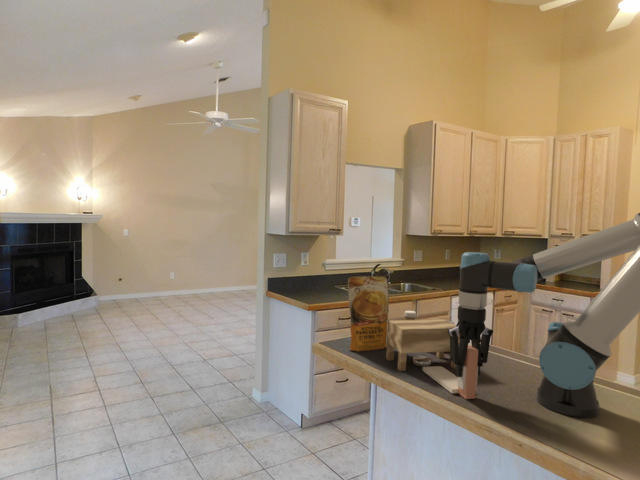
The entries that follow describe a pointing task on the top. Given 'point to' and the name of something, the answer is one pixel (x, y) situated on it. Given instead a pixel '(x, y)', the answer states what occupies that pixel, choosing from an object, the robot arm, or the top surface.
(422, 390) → the top surface
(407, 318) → the sprinkles bottle
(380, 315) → the pancake mix bag
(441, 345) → the small wooden stool
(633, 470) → the top surface
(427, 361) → the steel puck
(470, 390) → the plank with pink post
